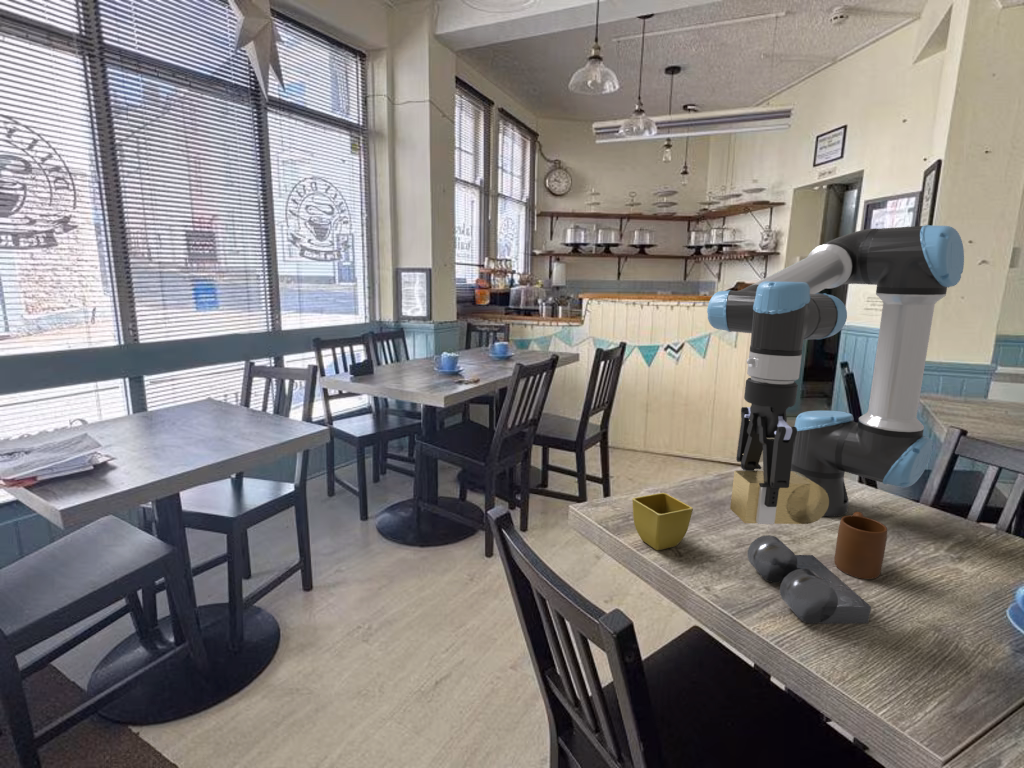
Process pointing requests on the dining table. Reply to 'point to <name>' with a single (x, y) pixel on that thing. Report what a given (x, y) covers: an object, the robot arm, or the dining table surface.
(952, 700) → the dining table surface
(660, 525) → the flower pot
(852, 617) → the hinge base leaf
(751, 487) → the brass curved block
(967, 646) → the dining table surface
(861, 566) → the mug
